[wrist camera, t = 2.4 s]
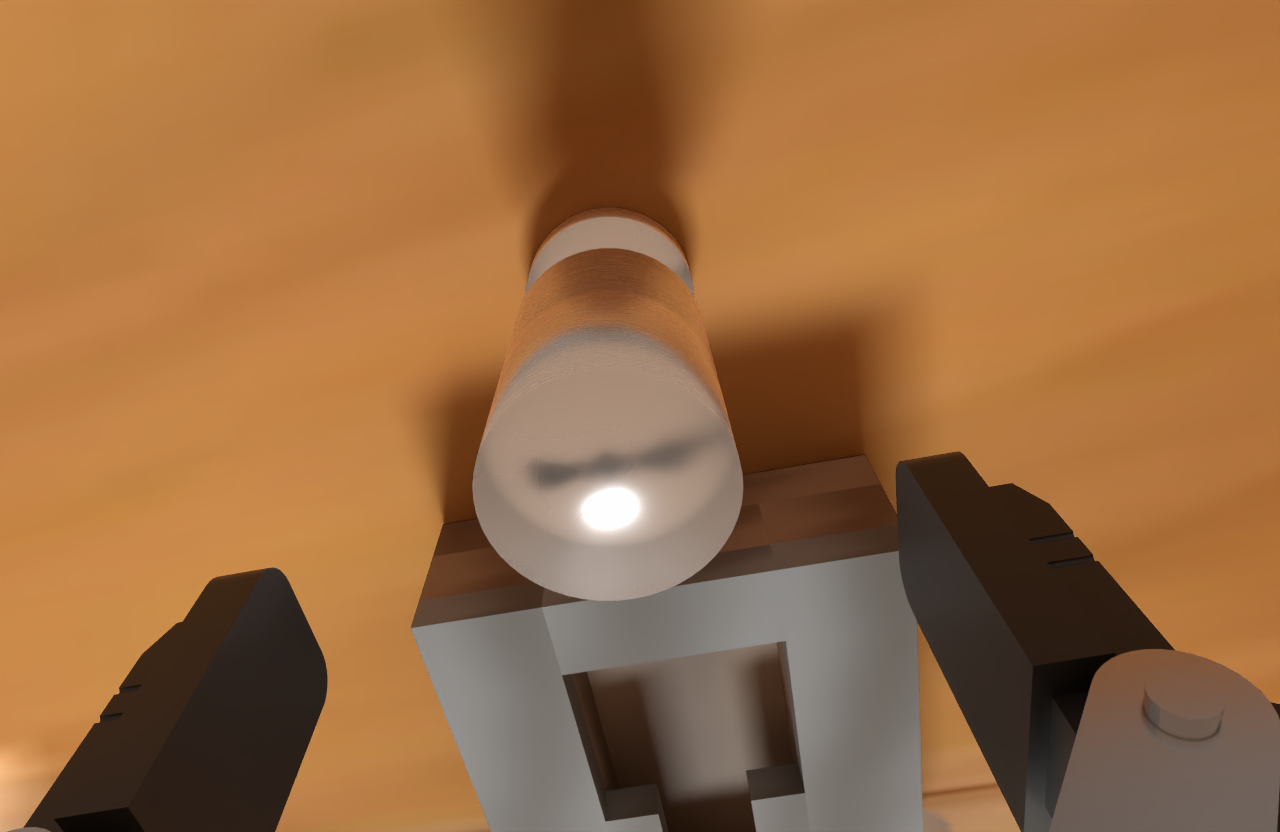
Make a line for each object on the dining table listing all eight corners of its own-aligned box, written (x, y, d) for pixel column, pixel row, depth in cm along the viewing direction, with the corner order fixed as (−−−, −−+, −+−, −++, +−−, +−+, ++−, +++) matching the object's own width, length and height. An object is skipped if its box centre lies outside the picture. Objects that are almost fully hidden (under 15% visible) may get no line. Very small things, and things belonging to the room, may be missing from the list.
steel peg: (677, 193, 20) (724, 348, 11) (701, 347, 22) (757, 579, 13) (511, 223, 20) (439, 398, 12) (549, 374, 22) (510, 618, 13)
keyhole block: (864, 454, 23) (914, 548, 19) (889, 863, 31) (928, 985, 28) (442, 524, 24) (410, 628, 20) (575, 906, 32) (570, 1031, 28)
